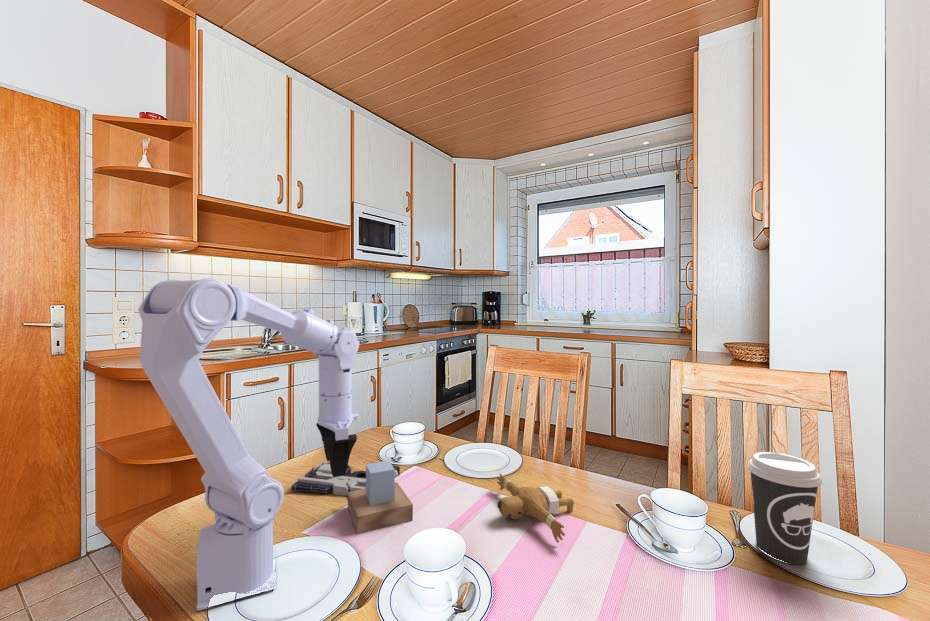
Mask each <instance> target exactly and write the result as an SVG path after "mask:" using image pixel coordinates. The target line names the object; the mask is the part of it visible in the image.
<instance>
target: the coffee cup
mask: <svg viewBox="0 0 930 621" xmlns="http://www.w3.org/2000/svg"><path fill="white" fill-rule="evenodd" d="M746 469H747V470H748V471H749V472H750V478H751V479H750V481H751V492H752V503H753V506H752V507H753V513H754V514H753V515H754V516H753V517H754V528H755V529H754V531H755V541H756V542H755V543H756V544H755V545H756V547H757V546H758V547H759V548H760V549H761V550H763V551H764V552H766V553H767V554H769V555H771V556H772V557H774V558H776V559H779V560H782V561H784V562H787V563H790V564H789V565H791V564H793V566H801V565H805V564H806V563H807V562H808V557H809V550H810V549H809V548H810V544H811V536H812V530H813V529H812V528H813V522H814V513H815V508H816V500H817V495H818V494H817V493H818V487H820V486H822V485H823V480H822V477H821V475H820V473H819V472H818V471H817V468H816V465H814V464H813V463H812V462H810V461H809V460H806V459H803V458H800V457H797V456H794V455H790V454H787V453H782V452H781V453H779V452H772V451H760V452H756V453H753V455H752V458H751V459H749V461H748V463H747V466H746Z"/></svg>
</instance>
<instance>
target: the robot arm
mask: <svg viewBox="0 0 930 621" xmlns="http://www.w3.org/2000/svg"><path fill="white" fill-rule="evenodd" d="M137 309H138V314H139V316H140V319H141V333H140V334H141V336H140V337H141V338H140V350H139V363H140V365H141V368H142V370H143V371H144V373H145V375H146V376H147V378H148V380H149V381H150V382H151V385H152V386H153V388H154V389H155V391H156V393H157V394H158V396H159V398H160V399H161V401H162V402H163V405H164V406H165V408H166V410H167V411H168V413H169V415H170V416H171V418H172V419H173V421H174V423H175V424H176V426H177V428H178V429H179V431H180V432H181V434H182V436H183V437H184V439H185V441H186V442H187V445H188V446H189V448H190V450H191V451H192V453H193V454H194V456H195V458H196V459H197V461H198V462H199V464H200V466H201V468H202V469H203V471H204V473H203V474H202V476H201V478H200V481H201V482H202V483H201V484H202V485H203V487H204V490H205V492H204V501H205V503H206V504H205V505H206V507H207V508H208V509H209V510H210V511H213V512H214V521H215V523H213V524H211V525H207V526H205V527H202V528H200V530H199V533H198V534H199V535H198V539H197V547H196V548H197V550H196V579H195V580H196V594H197V596H196V597H197V600H196V610H197V611H199V612H200V611H203V610H206V609H208V608H207V607H208V603H209V601H210V599H211V598H212V597H213V596H214V595H218V594H223V593H228V592H236V593H239V594H241V593H244V594H249V593H250V591H253V590H254V591H255V589H256V588H257V589H258V587H259V590H257V589H256V591H257V592H258V591H262V590H265V589H269V588H270V587H271V588H272V587H273V588H274V587H275V586H276V585H275V584H276V581H277V579H276V580H275V578H274V580H275V583H274V580H273V582H272V580H271V582H270V580H269V582H267V580H268V579H269V578H271V575H272V573H273V555H274V524H273V523H274V521H275V520H276V516H277V515H278V513H279V511H280V509H281V508H282V505H283V501H284V498H285V492H284V487H283V485H282V483H281V482H280V481H279V480H277V479H274V478H272V477H271V476H270V475H269V473H268V471H267V469H266V468H265V467H263V466H262V465H261V464H260V463H259V462H257V461H256V460H255V459H254V458H252V457H251V455H249V453H248V451H247V449H246V448H245V447H246V446H244V443H243V441H242V440H241V438H240V436H239V434H238V432H237V431H236V428H235V427H234V425H233V423H232V420H231V419H230V416H228V414H227V412H226V410H225V408H224V406H223V404H222V402H221V401H220V398H219V397H218V395H217V393H216V391H215V389H214V387H213V385H212V384H211V382H210V380H209V377H208V376H207V374H206V372H205V370H204V368H203V367H202V365H201V363H200V359H201V356H202V354H203V353H204V350H205V349H206V348H207V347H208V346H209V344H210V343H211V342H212V341H213V340H214V339H215V338H216V337H217V335H218V334H220V332H221V331H222V330H223V329H224V328H225V327H226V326H227V325H228V324H229V322H231V321H233V322H234V321H235V322H237V321H241V320H242V321H244V322H248V323H251V324H254V325H257V326H261V327H262V328H266V329H270V330H272V331H276V332H279V333H280V334H281V338H282V339H283V341H284V342H285V343H286V344H289V345H291V346H293V347H294V346H295V347H298V348H301V349H303V350H307V351H309V352H311V353H312V354H313V355H314V356H315V357H317V358H318V417H317V422H316V424H315V426H316V428H317V429H318V431H319V433H320V436H321V441H322V444H323V449H324V455H325V459H326V461H327V462H329V463H330V467H331V472H332V475H333V477H338V476H344V475H345V474H346V471H347V466H348V465H349V462H350V456H351V454H352V450H353V448H354V446H355V444H356V443H357V439H358V436H357V434H356V433H355V434H349V428H350V426H351V424H352V422H353V421H356V420H359V416H360V415H359V414H358V413H355V412H354V413H353V384H352V383H353V368H354V366H355V362H356V361H355V360H356V358H355V357H356V355H357V354H358V350H359V348H360V341H359V340H358V337H357V335H356V333H355V332H354V331H353V329H351V328H350V327H348V326H347V327H346V326H337V325H336V324H335V321H333V320H332V319H326V320H325V319H323V318H321V317H318V316H316V315H315V311H314V310H312V309H298V310H295V311H292V312H289V311H286V310H284V309H282V308H280V307H278V306H276V305H274V304H273V303H270V302H268V301H266V300H264V299H262V298H260V297H258V296H256V295H254V294H252V293H250V292H248V291H246V290H244V289H242V288H241V287H239V286H236V285H232V284H227V283H225V282H223V281H221V280H219V279H216V278H202V279H196V280H179V279H178V280H177V279H166V280H164V281H163V280H162V281H160V282H158V283H156V284H155V285H154V286H152V287H151V288H150V290H149V291H148V293H147V294H146V296H145V297H144V299H143V300H142V302H141V303H140V305H139V307H138V308H137ZM274 573H275V572H274ZM274 576H275V575H274ZM272 579H273V578H272ZM266 582H267V584H268V583H269V584H270V585H271V584H272V585H271V586H270V587H269V588H267V585H266V587H265V585H264V587H263V584H264V583H266ZM269 584H268V585H269ZM273 584H274V585H273ZM260 586H262V587H263V588H262V587H261V589H260ZM247 592H248V593H247ZM251 593H252V592H251ZM253 593H254V592H253Z"/></svg>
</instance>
